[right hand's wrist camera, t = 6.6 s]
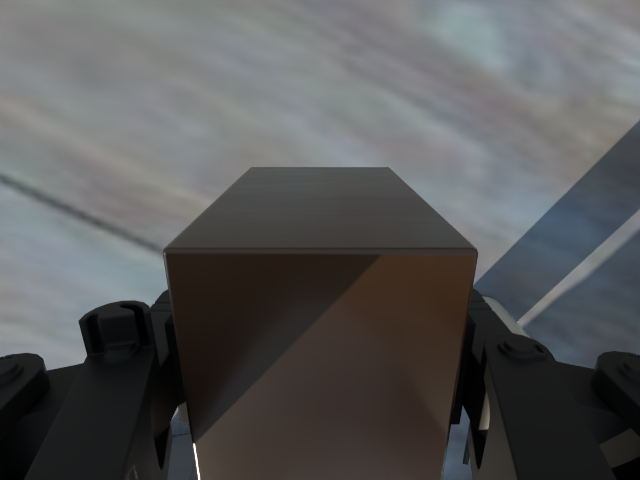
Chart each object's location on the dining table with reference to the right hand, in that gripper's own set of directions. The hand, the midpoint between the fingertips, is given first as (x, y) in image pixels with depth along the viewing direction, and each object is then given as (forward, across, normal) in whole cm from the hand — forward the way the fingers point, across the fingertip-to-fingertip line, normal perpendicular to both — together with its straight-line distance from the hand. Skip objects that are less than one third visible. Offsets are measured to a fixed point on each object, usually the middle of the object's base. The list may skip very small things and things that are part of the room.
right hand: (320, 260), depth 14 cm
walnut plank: (0, 0, -8) cm, 9 cm away
